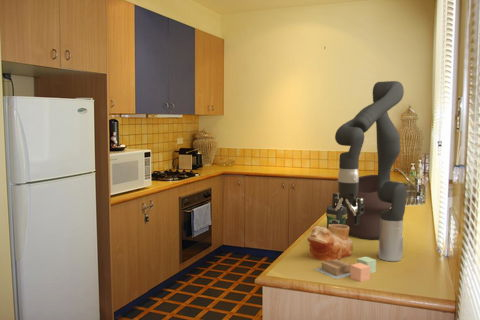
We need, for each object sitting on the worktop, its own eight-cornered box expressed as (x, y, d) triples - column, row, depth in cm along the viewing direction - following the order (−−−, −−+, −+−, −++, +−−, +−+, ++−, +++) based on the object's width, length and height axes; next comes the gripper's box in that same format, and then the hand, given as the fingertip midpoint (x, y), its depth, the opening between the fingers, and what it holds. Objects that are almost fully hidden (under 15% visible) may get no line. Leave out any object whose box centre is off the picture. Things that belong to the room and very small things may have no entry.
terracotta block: (359, 278, 173) (359, 262, 173) (369, 282, 169) (370, 266, 168) (349, 280, 170) (350, 265, 170) (360, 285, 166) (361, 268, 166)
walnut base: (336, 266, 182) (336, 259, 182) (351, 272, 176) (351, 264, 175) (321, 269, 178) (321, 262, 178) (336, 276, 171) (336, 268, 171)
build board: (336, 266, 185) (336, 264, 185) (358, 276, 175) (359, 272, 175) (313, 272, 179) (314, 269, 178) (336, 282, 169) (336, 278, 168)
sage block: (365, 271, 181) (366, 256, 180) (375, 275, 177) (376, 259, 176) (356, 273, 178) (357, 258, 178) (366, 277, 174) (367, 262, 173)
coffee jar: (348, 244, 218) (349, 205, 216) (343, 248, 211) (344, 208, 209) (328, 241, 223) (329, 203, 221) (322, 245, 216) (324, 206, 214)
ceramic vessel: (297, 260, 192) (298, 225, 191) (332, 248, 211) (334, 216, 209) (324, 269, 183) (325, 232, 181) (359, 255, 201) (361, 221, 199)
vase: (340, 226, 252) (342, 172, 249) (392, 230, 244) (395, 175, 241) (335, 238, 227) (337, 178, 224) (392, 244, 219) (396, 182, 215)
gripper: (370, 182, 168) (368, 225, 170) (341, 177, 180) (340, 217, 182) (355, 184, 164) (354, 228, 166) (327, 178, 176) (326, 220, 178)
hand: (347, 222), depth 174 cm, fingers open, 8 cm apart
